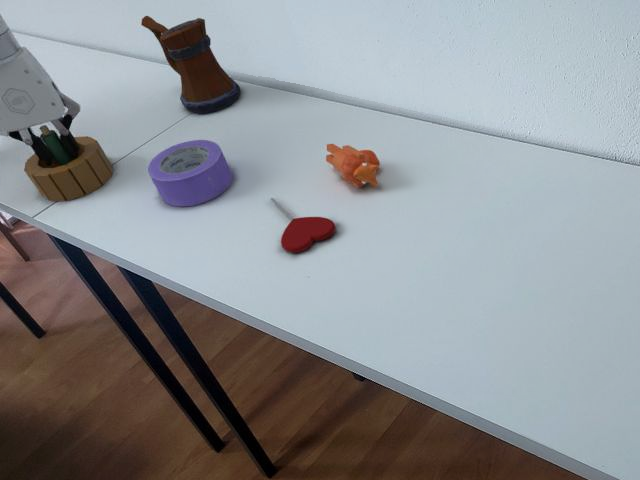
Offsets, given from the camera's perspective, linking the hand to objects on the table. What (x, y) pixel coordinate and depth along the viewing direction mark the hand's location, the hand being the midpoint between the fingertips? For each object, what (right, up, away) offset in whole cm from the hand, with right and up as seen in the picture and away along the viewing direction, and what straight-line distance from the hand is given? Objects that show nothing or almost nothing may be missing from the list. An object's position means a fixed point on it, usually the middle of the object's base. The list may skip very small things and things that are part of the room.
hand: (62, 157), depth 108 cm
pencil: (+1, -3, +3) cm, 5 cm away
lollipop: (+43, -14, -13) cm, 47 cm away
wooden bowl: (+1, -3, +3) cm, 5 cm away
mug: (+16, +18, +20) cm, 31 cm away
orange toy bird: (+51, -5, -7) cm, 52 cm away
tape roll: (+24, -6, -3) cm, 25 cm away
